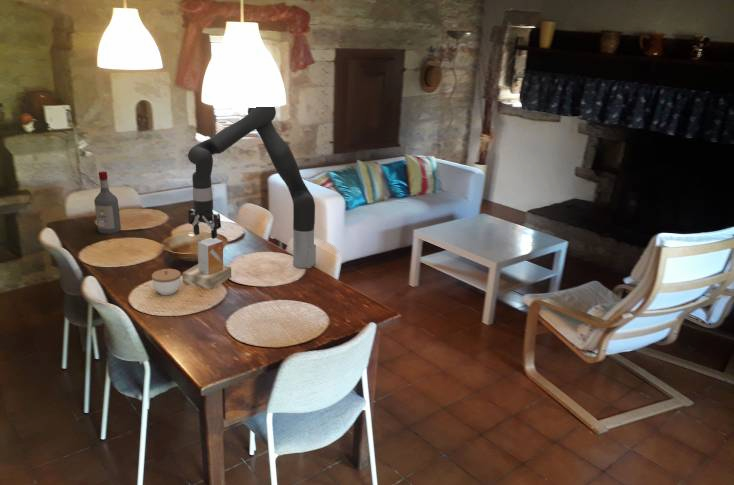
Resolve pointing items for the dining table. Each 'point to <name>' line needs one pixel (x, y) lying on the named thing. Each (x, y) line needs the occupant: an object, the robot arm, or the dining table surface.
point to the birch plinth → (206, 277)
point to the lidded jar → (166, 281)
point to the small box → (210, 255)
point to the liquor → (107, 208)
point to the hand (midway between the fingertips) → (205, 236)
